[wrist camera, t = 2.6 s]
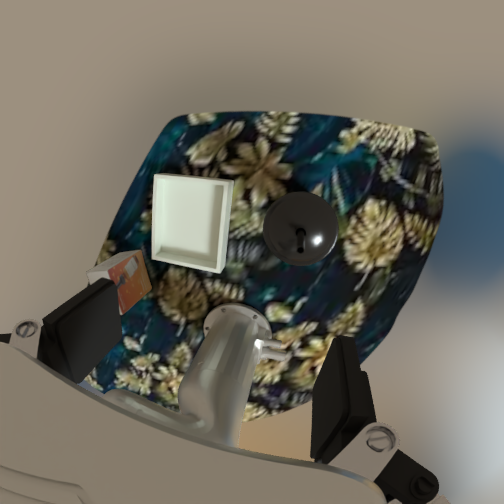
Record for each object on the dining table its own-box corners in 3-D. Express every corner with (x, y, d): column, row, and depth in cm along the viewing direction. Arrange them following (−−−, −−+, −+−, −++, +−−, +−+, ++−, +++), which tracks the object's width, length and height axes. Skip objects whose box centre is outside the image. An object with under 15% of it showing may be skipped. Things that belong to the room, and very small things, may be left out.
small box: (153, 288, 49) (123, 316, 39) (130, 289, 50) (100, 315, 41) (141, 248, 47) (107, 270, 37) (119, 251, 48) (84, 272, 38)
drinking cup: (298, 242, 41) (293, 310, 23) (264, 204, 40) (232, 243, 22) (337, 211, 39) (367, 257, 20) (303, 171, 38) (306, 180, 19)
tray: (233, 180, 40) (228, 181, 37) (224, 266, 45) (219, 273, 42) (163, 173, 41) (154, 174, 39) (160, 253, 46) (151, 259, 44)
